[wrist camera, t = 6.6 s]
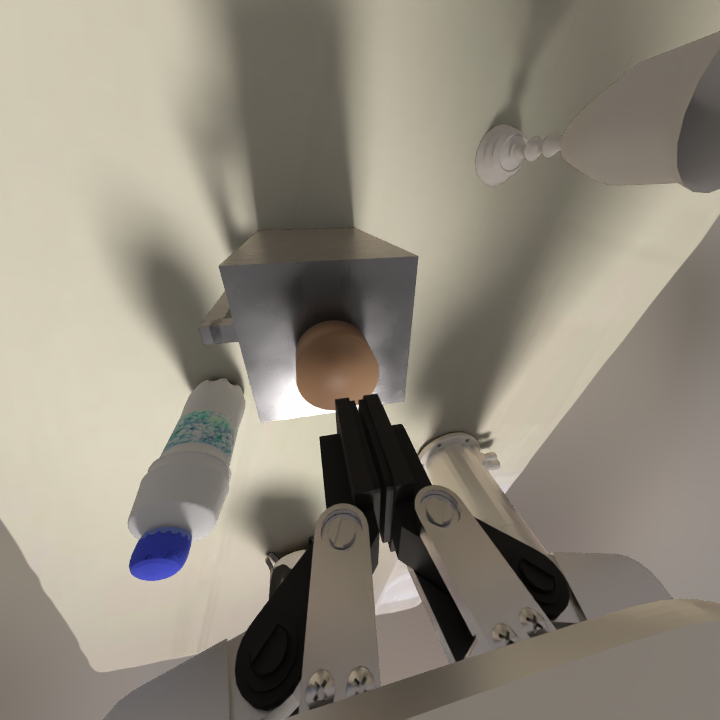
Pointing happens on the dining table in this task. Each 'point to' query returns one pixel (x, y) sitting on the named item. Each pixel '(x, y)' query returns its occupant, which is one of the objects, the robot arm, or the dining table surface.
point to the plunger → (334, 364)
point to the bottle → (186, 481)
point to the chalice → (633, 127)
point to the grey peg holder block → (313, 307)
